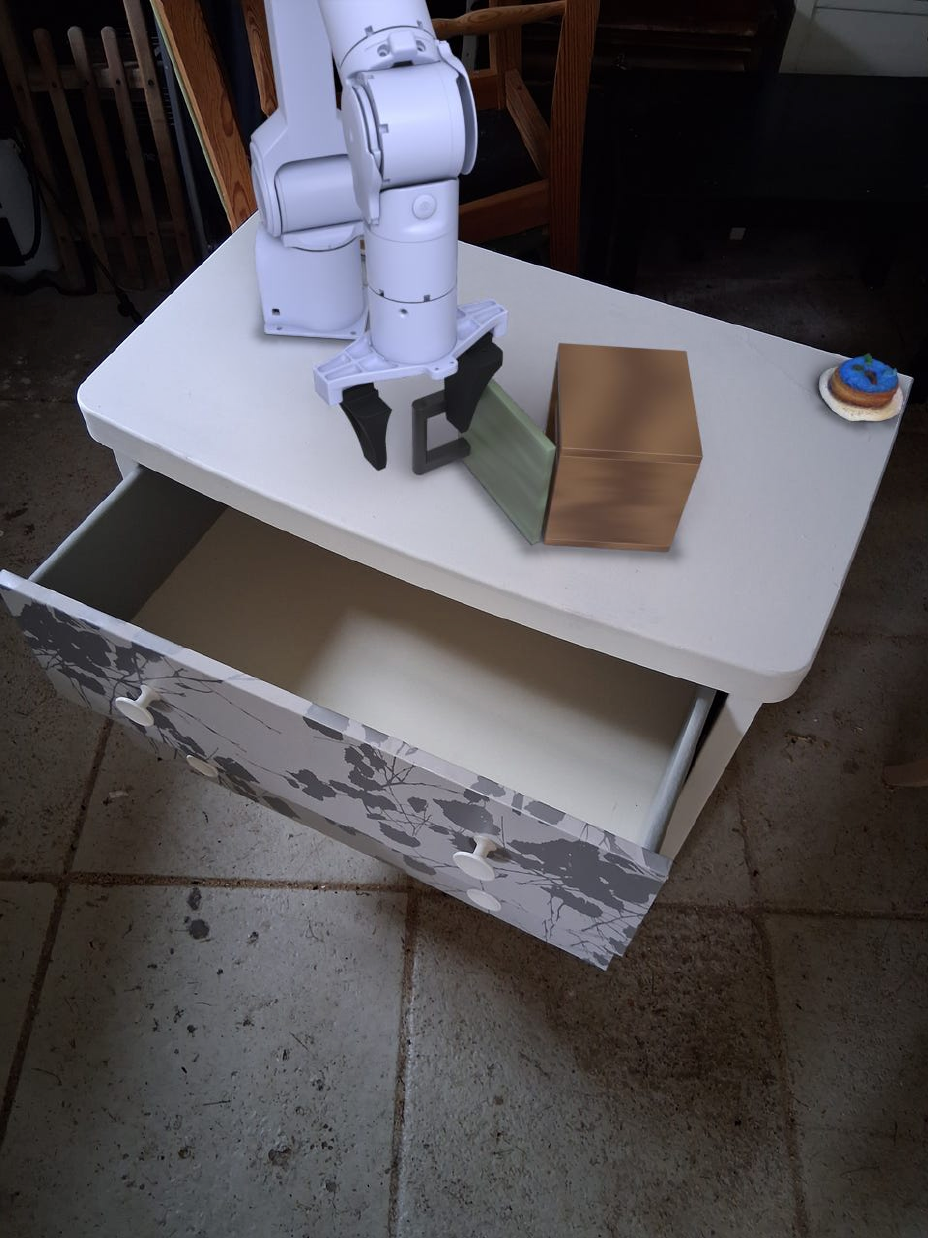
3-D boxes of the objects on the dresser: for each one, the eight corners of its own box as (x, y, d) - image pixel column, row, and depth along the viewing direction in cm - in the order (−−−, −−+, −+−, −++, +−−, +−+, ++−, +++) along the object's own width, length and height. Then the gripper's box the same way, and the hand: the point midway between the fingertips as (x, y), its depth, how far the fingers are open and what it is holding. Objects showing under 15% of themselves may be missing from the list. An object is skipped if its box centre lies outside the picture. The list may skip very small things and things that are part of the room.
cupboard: (543, 545, 71) (561, 447, 62) (542, 443, 78) (558, 342, 69) (668, 552, 71) (703, 456, 62) (656, 450, 78) (686, 350, 69)
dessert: (833, 420, 80) (847, 351, 78) (800, 412, 86) (812, 348, 84) (916, 426, 81) (932, 358, 79) (878, 417, 87) (891, 354, 85)
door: (477, 570, 69) (485, 476, 61) (404, 475, 75) (402, 377, 66) (540, 541, 71) (556, 446, 63) (464, 451, 76) (470, 352, 68)
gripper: (345, 348, 52) (361, 513, 62) (541, 272, 57) (525, 436, 68) (287, 290, 55) (312, 456, 66) (476, 224, 60) (471, 387, 71)
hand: (416, 443), depth 67 cm, fingers open, 7 cm apart
